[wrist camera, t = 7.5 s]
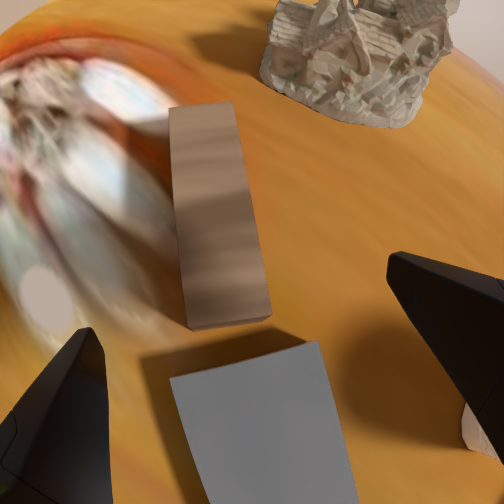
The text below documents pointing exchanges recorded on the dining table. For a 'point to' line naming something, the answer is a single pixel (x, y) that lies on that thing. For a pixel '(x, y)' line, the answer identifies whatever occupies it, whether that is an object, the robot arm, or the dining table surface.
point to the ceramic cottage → (357, 56)
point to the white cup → (475, 435)
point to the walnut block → (215, 220)
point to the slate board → (266, 430)
